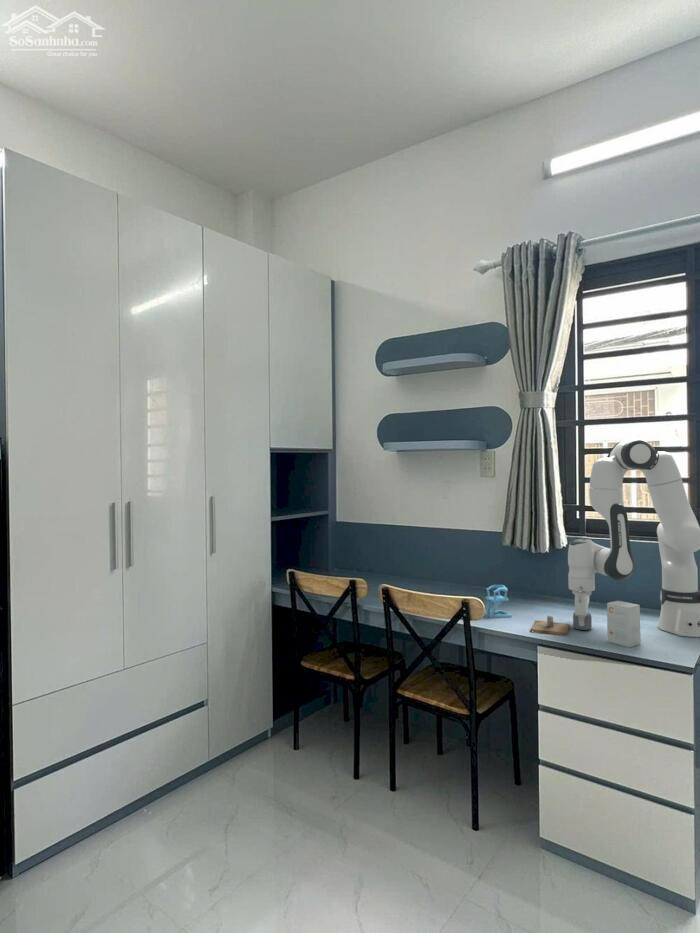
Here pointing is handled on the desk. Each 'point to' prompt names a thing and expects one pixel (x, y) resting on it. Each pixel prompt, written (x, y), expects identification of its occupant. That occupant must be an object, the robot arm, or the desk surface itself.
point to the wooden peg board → (550, 627)
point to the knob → (587, 622)
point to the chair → (496, 601)
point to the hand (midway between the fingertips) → (582, 622)
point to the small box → (623, 623)
